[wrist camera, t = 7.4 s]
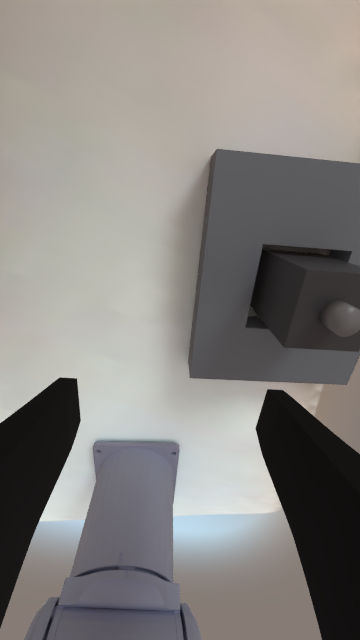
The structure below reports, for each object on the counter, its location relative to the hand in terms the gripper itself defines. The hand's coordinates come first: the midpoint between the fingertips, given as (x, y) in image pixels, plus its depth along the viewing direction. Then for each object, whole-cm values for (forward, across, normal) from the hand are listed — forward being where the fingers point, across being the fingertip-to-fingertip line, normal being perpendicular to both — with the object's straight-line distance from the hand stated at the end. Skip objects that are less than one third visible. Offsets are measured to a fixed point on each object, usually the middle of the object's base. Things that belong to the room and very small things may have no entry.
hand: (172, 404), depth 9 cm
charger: (+9, -8, -3) cm, 12 cm away
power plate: (+9, -8, -3) cm, 12 cm away
